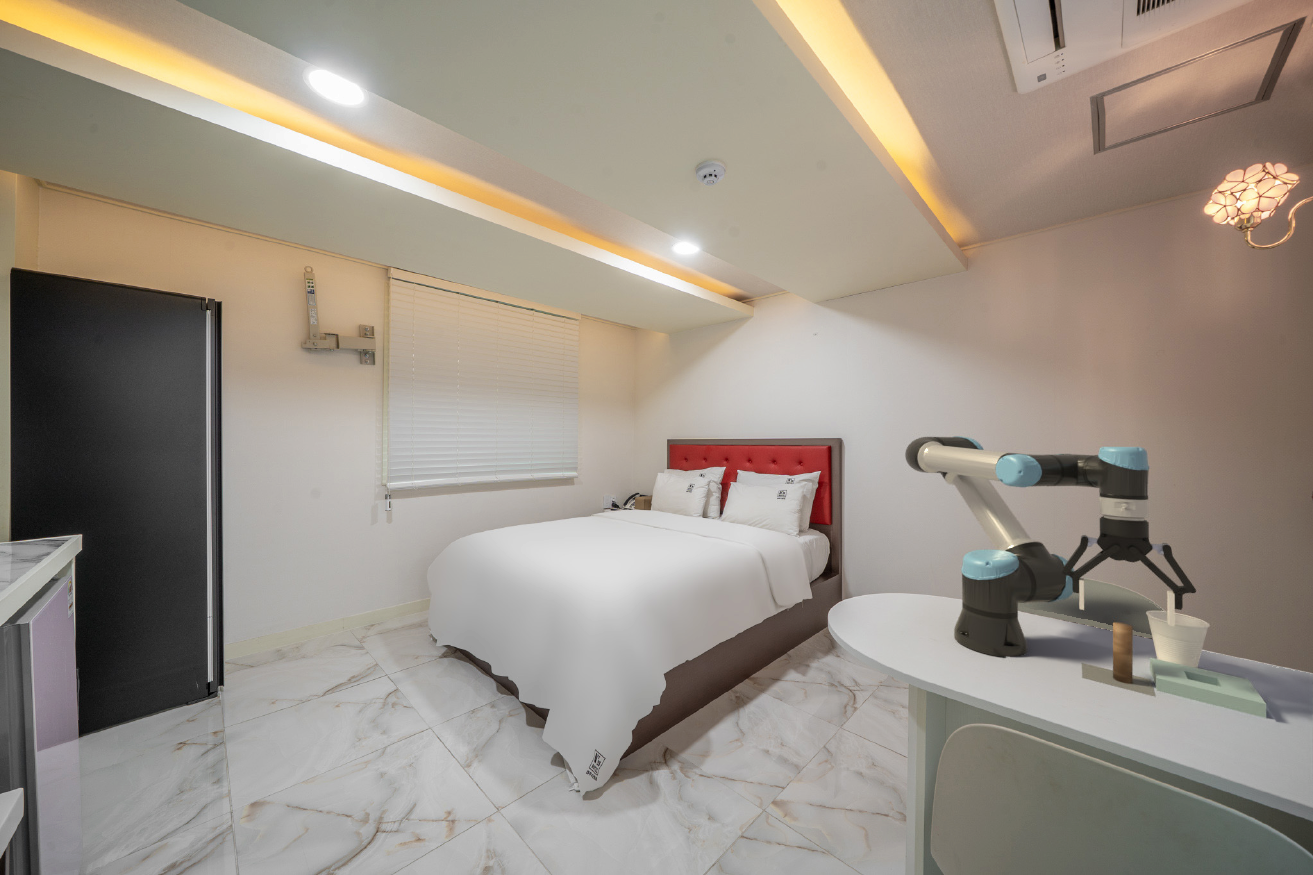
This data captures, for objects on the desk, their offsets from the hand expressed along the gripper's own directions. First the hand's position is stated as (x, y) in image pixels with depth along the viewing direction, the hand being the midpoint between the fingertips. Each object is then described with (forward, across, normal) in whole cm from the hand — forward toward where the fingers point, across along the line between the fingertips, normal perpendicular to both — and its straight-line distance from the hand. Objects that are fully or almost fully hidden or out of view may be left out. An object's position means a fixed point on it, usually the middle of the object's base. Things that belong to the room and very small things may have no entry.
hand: (1124, 615), depth 100 cm
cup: (+15, +10, +19) cm, 26 cm away
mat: (+14, -1, 0) cm, 15 cm away
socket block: (+14, +12, +5) cm, 19 cm away
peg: (+14, 0, 0) cm, 14 cm away
